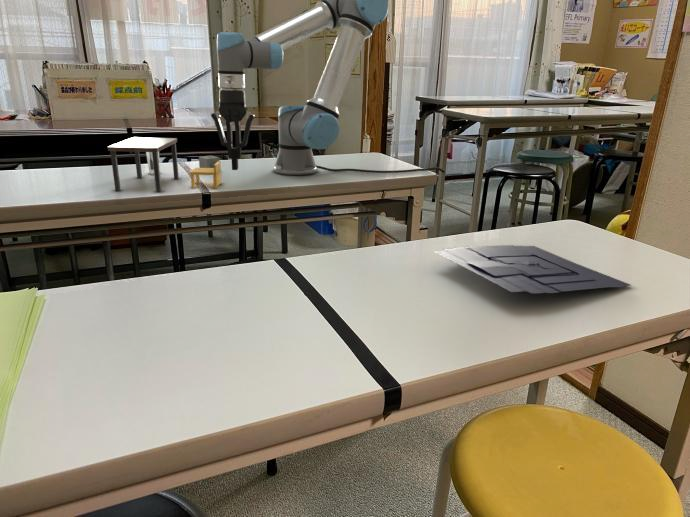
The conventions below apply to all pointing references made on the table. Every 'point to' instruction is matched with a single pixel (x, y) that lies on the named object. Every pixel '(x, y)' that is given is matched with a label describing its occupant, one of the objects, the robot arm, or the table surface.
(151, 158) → the milkshake
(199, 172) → the chair
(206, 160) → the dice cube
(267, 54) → the robot arm
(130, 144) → the little table
